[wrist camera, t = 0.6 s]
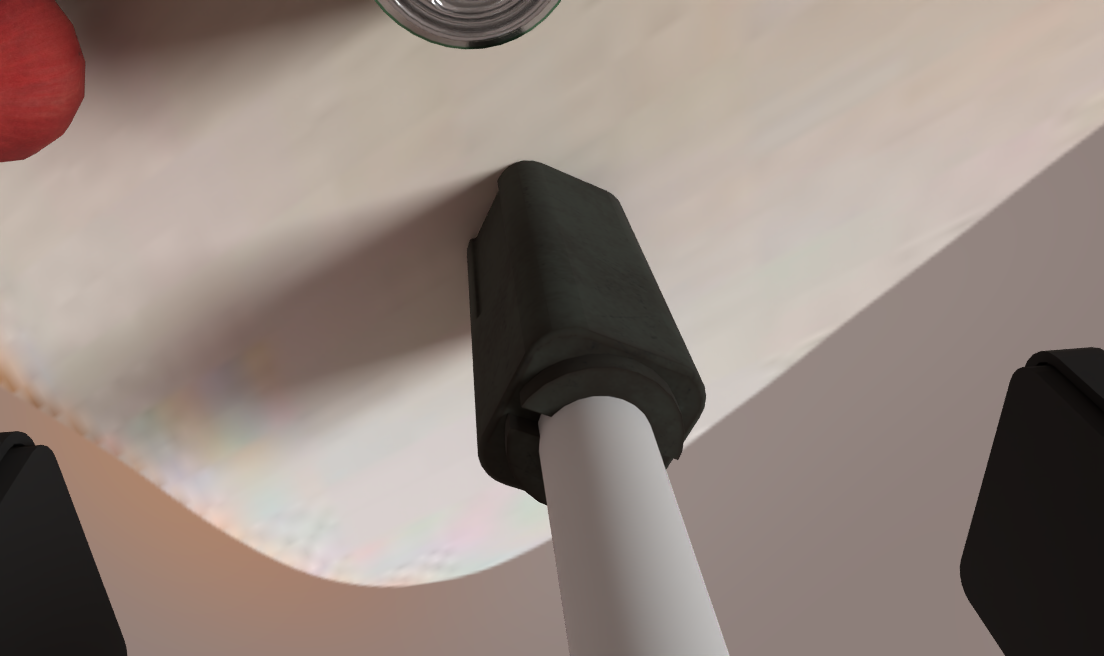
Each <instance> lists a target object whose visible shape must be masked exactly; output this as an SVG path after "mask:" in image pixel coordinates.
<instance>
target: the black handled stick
mask: <svg viewBox="0 0 1104 656" xmlns="http://www.w3.org/2000/svg"><path fill="white" fill-rule="evenodd" d="M498 187H499V191H498V193H497V195H496V197H495V200H494V202H493V204H492V206H491V208H490V210H489V212H488V215H487V217H486V219H485V221H484V223H483V225H482V227H481V230H480V232H479V234H478V236H477V238H476V239H471V240H470V242H469V245H468V248H467V263H468V281H469V299H470V318H471V336H472V354H473V373H474V391H475V409H476V428H477V446H478V457H479V460H480V463H481V466H482V467H483V469H484V470H485V471H486V473H487V474H488V475H489V476H491V477H492V478H493V479H494V480H496V481H498V482H500V483H503V484H505V485H508V486H511V487H514V488H518V489H521V490H524V491H526V492H527V493H528V494H529V495H531V496H532V497H533V498H534V499H536V500H537V501H538V502H540V503H543V504H545V505H547V507H548V514H549V520H550V527H551V534H552V540H553V546H554V553H555V560H556V566H557V572H558V580H559V586H560V592H561V600H562V606H563V613H564V619H565V625H566V633H567V639H568V645H569V652H570V656H729V653H728V650H727V647H726V644H725V641H724V638H723V635H722V633H721V630H720V627H719V624H718V621H717V618H716V615H715V612H714V609H713V606H712V603H711V600H710V597H709V594H708V592H707V589H706V586H705V583H704V580H703V577H702V574H701V571H700V568H699V565H698V562H697V559H696V557H695V554H694V551H693V548H692V545H691V542H690V539H689V536H688V533H687V530H686V527H685V524H684V521H683V519H682V516H681V513H680V510H679V507H678V504H677V501H676V498H675V496H674V493H673V490H672V486H671V484H670V481H669V478H668V475H667V472H666V469H667V467H668V466H669V464H670V463H671V461H672V460H673V458H674V459H677V460H678V459H679V457H680V455H681V453H682V449H683V443H684V441H685V439H686V438H687V436H688V435H689V433H690V432H691V430H692V429H693V427H694V425H695V424H696V422H697V421H698V419H699V418H700V416H701V414H702V412H703V409H704V407H705V400H706V393H705V386H704V384H703V382H702V380H701V377H700V375H699V373H698V371H697V369H696V367H695V364H694V362H693V360H692V358H691V356H690V354H689V351H688V349H687V347H686V345H685V343H684V341H683V338H682V336H681V334H680V332H679V330H678V328H677V325H676V323H675V321H674V319H673V317H672V315H671V312H670V310H669V308H668V306H667V304H666V302H665V299H664V297H663V295H662V293H661V291H660V289H659V286H658V284H657V282H656V280H655V278H654V276H653V273H652V271H651V269H650V267H649V265H648V263H647V260H646V258H645V256H644V254H643V252H642V250H641V247H640V245H639V243H638V241H637V239H636V237H635V234H634V232H633V230H632V228H631V226H630V224H629V221H628V219H627V217H626V215H625V213H624V211H623V208H622V206H621V204H620V202H619V201H618V199H617V198H616V197H615V196H614V195H612V194H611V193H609V192H607V191H606V190H603V189H601V188H599V187H596V186H594V185H592V184H589V183H587V182H584V181H582V180H580V179H577V178H575V177H573V176H570V175H568V174H566V173H563V172H561V171H559V170H556V169H554V168H552V167H549V166H547V165H545V164H542V163H539V162H536V161H521V162H517V163H515V164H513V165H511V166H509V167H508V168H507V169H506V170H505V171H504V172H503V173H502V175H501V176H500V178H499V179H498Z"/></svg>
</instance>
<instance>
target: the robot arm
mask: <svg viewBox="0 0 1104 656" xmlns="http://www.w3.org/2000/svg"><path fill="white" fill-rule="evenodd" d="M960 577H961V582H962V586H963V589H964V592H965V594H966V596H967V598H968V600H969V601H970V603H971V605H972V606H973V608H974V609H975V611H976V612H977V614H978V615H979V617H980V618H981V620H982V621H983V623H984V624H985V626H986V627H987V629H988V630H989V632H990V633H991V635H992V636H993V638H994V639H995V641H996V642H997V644H998V645H999V647H1000V648H1001V650H1002V651H1003V653H1004V655H1005V656H1104V350H1102V349H1100V348H1093V347H1089V348H1077V349H1063V350H1051V351H1040V352H1038V353H1035V354H1033V355H1032V357H1031V358H1030V359H1029V360H1028V361H1027V363H1026V365H1025V367H1022V368H1019V369H1017V370H1016V371H1015V373H1014V374H1013V375H1012V378H1011V380H1010V383H1009V387H1008V391H1007V394H1006V398H1005V402H1004V405H1003V409H1002V412H1001V416H1000V420H999V423H998V427H997V431H996V435H995V438H994V442H993V445H992V449H991V453H990V456H989V460H988V463H987V467H986V471H985V474H984V478H983V482H982V486H981V489H980V493H979V497H978V500H977V504H976V507H975V511H974V515H973V518H972V522H971V525H970V529H969V533H968V537H967V540H966V544H965V548H964V551H963V555H962V558H961V564H960ZM0 656H127V649H126V644H125V641H124V638H123V635H122V633H121V630H120V627H119V625H118V622H117V620H116V617H115V614H114V611H113V609H112V606H111V603H110V601H109V598H108V595H107V593H106V590H105V588H104V585H103V582H102V580H101V577H100V574H99V572H98V569H97V566H96V564H95V561H94V558H93V555H92V553H91V550H90V548H89V545H88V542H87V540H86V537H85V534H84V532H83V529H82V526H81V524H80V521H79V518H78V516H77V513H76V510H75V508H74V505H73V502H72V500H71V497H70V494H69V492H68V489H67V486H66V484H65V481H64V478H63V476H62V473H61V470H60V468H59V465H58V463H57V460H56V457H55V455H54V453H53V452H52V450H51V449H50V448H49V447H47V446H44V445H37V446H35V444H34V442H33V440H32V439H31V438H30V437H29V436H27V434H26V433H23V432H19V431H15V432H2V433H0Z"/></svg>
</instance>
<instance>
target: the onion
mask: <svg viewBox="0 0 1104 656" xmlns="http://www.w3.org/2000/svg"><path fill="white" fill-rule="evenodd" d="M84 89H85V60H84V57H83V54H82V51H81V48H80V45H79V42H78V39H77V36H76V33H75V30H74V27H73V24H72V23H71V22H70V20H69V19H68V18H67V16H66V15H65V14H64V12H63V11H62V10H61V8H60V7H59V6H58V5H57V3H56V2H55V1H54V0H0V162H7V161H16V160H24V159H26V158H28V157H30V156H32V155H34V154H36V153H37V152H39V151H40V150H41V149H43V148H44V147H46V146H47V145H49V144H50V143H52V142H53V141H55V140H56V139H57V138H59V137H60V136H62V135H63V134H64V133H65V131H66V130H67V128H68V127H69V125H70V124H71V122H72V120H73V118H74V116H75V114H76V112H77V110H78V108H79V106H80V104H81V102H82V100H83V98H84Z"/></svg>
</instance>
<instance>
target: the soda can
mask: <svg viewBox="0 0 1104 656" xmlns="http://www.w3.org/2000/svg"><path fill="white" fill-rule="evenodd" d="M560 1H561V0H375V2H376V3H377V4H378V5H379V6H380V8H381V9H382V10H383V11H384V12H385V13H386V14H387V15H388V16H389V17H390V18H391V19H393V20H394V21H395V22H396V23H397V24H398V25H400V26H401V27H403V28H404V29H406V30H407V31H409V32H410V33H412V34H413V35H415V36H418V37H420V38H422V39H424V40H426V41H429V42H431V43H434V44H438V45H442V46H445V47H450V48H459V49H483V48H488V47H493V46H498V45H502V44H504V43H507V42H509V41H512V40H515V39H517V38H519V37H521V36H522V35H524V34H526V33H527V32H529V31H531V30H532V29H534V28H535V27H536V26H537V25H539V24H540V23H541V22H542V21H544V20H545V19H546V18H547V17H548V16H549V15H550V13H551V12H552V11H553V10H554V9H555V8H556V7H557V6H558V5H559V3H560Z"/></svg>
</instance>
